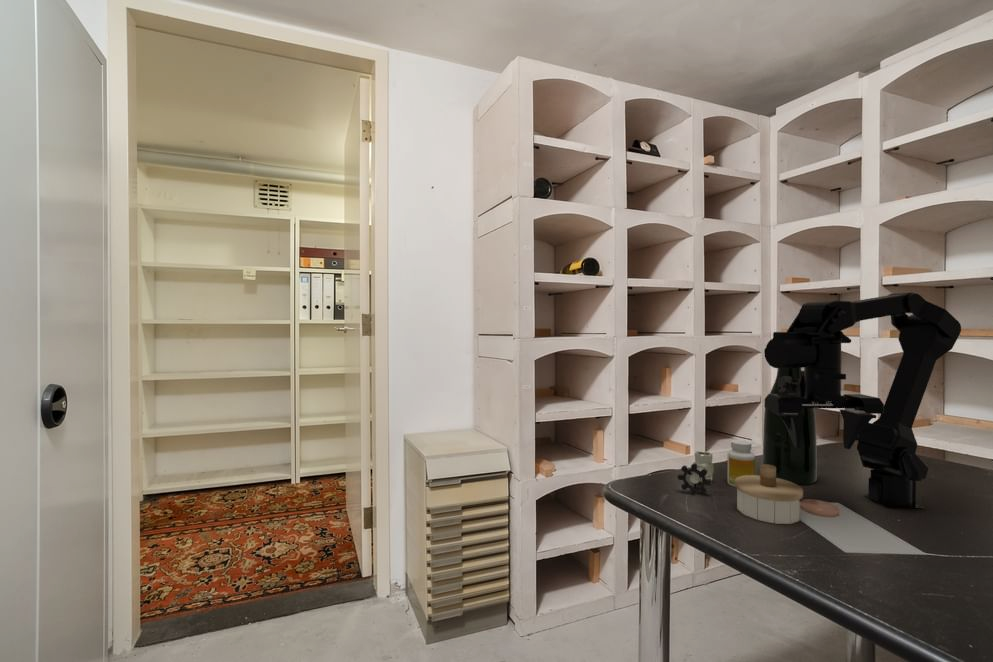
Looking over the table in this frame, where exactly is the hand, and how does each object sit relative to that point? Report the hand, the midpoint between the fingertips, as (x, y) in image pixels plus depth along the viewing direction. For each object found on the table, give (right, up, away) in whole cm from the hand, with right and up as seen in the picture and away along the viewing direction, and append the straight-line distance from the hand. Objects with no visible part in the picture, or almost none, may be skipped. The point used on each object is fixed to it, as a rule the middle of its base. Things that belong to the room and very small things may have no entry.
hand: (821, 448), depth 87 cm
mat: (-1, -12, -7) cm, 14 cm away
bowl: (-11, -12, -1) cm, 16 cm away
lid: (-11, -8, -1) cm, 13 cm away
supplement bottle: (-8, -12, +14) cm, 20 cm away
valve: (-17, -12, +13) cm, 25 cm away
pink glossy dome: (-1, -12, -1) cm, 12 cm away
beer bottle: (+5, -12, +18) cm, 22 cm away
